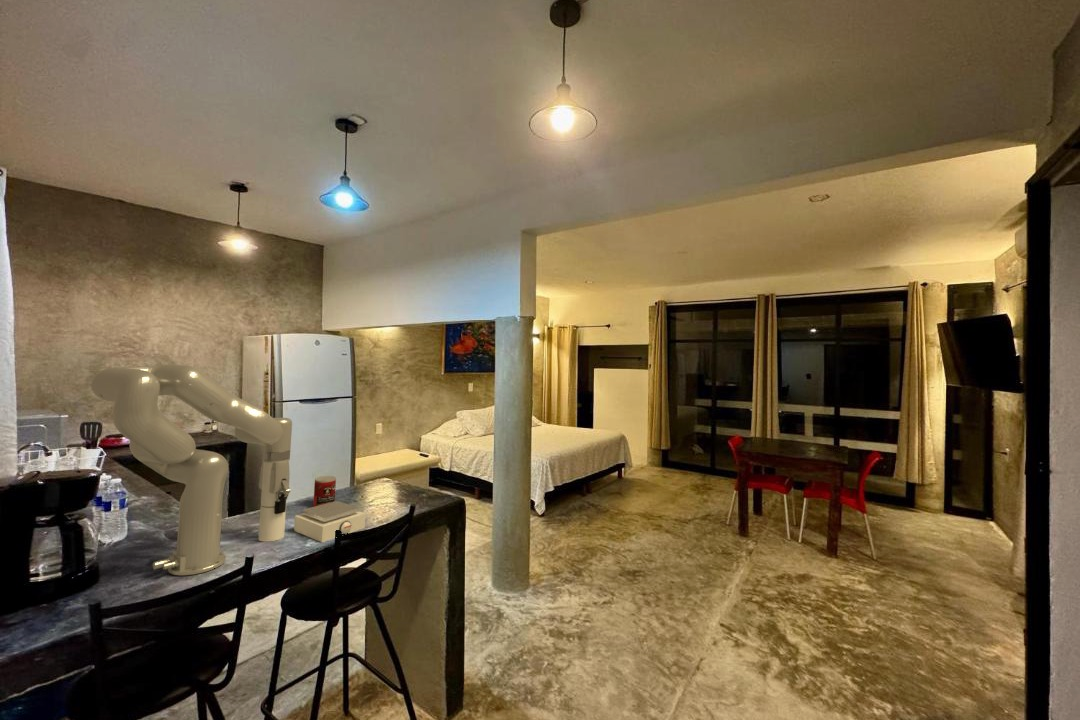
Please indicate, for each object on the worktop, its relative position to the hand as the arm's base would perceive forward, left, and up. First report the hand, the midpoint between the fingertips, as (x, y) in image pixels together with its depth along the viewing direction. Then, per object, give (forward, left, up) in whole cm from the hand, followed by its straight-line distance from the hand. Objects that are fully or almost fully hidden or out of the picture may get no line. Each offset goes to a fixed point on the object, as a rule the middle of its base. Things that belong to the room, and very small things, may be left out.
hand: (273, 510), depth 141 cm
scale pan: (+15, -8, -3) cm, 18 cm away
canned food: (+28, +16, -9) cm, 34 cm away
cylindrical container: (0, 0, -9) cm, 9 cm away
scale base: (+15, -8, -9) cm, 19 cm away
